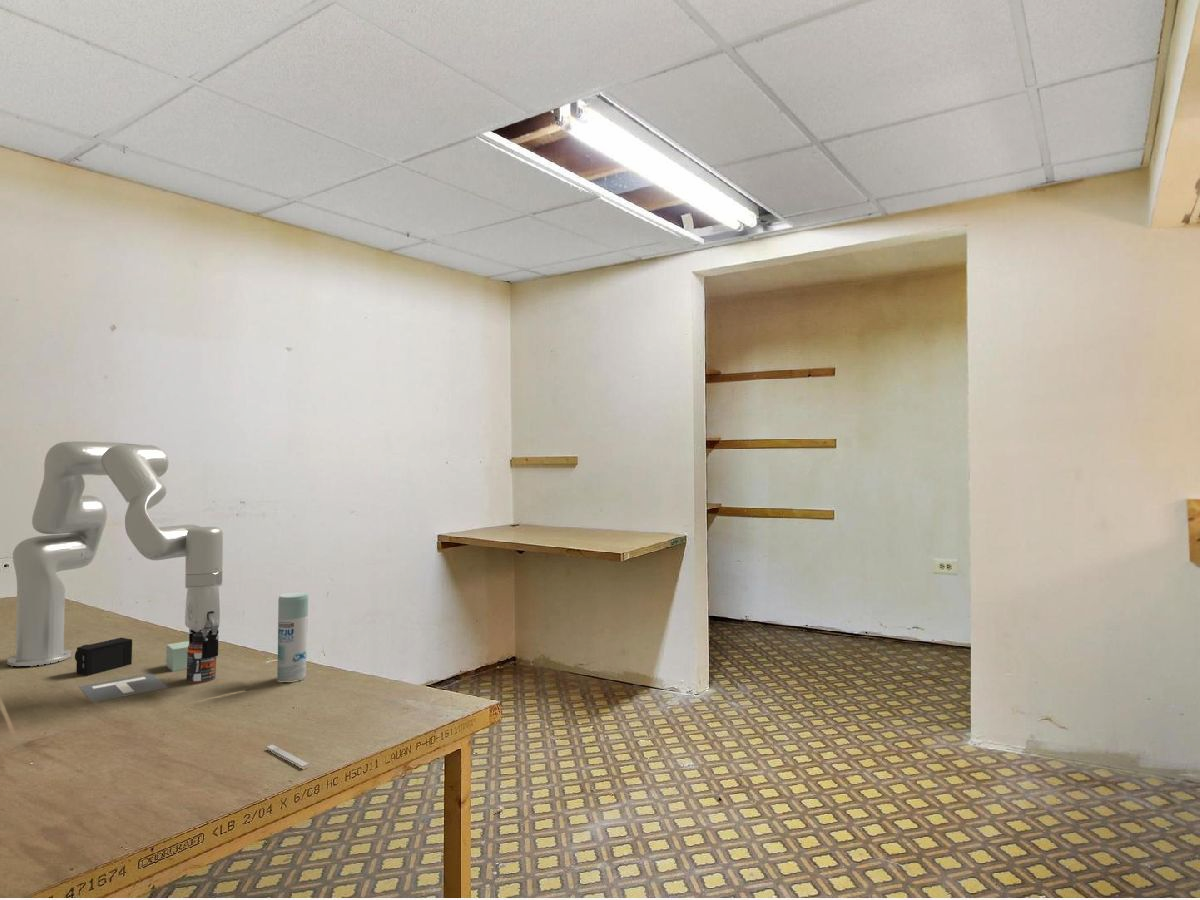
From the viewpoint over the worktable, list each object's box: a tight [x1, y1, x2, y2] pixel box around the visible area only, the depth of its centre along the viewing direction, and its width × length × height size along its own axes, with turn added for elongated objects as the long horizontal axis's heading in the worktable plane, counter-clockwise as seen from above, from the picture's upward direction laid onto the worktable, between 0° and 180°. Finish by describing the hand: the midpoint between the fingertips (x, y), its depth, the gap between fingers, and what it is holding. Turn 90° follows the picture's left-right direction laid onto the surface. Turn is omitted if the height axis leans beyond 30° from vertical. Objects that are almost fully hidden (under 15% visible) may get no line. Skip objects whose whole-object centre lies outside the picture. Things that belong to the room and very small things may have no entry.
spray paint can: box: [276, 591, 309, 681], centre depth 162 cm, size 6×6×20 cm
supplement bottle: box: [186, 631, 217, 684], centre depth 159 cm, size 6×6×11 cm
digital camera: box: [74, 637, 133, 677], centre depth 166 cm, size 10×5×7 cm, turn 157°
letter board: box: [78, 672, 169, 703], centre depth 153 cm, size 14×14×1 cm
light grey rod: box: [265, 744, 310, 767], centre depth 120 cm, size 12×1×1 cm, turn 52°
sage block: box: [165, 640, 189, 672], centre depth 169 cm, size 6×6×6 cm
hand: (203, 653), depth 159 cm, fingers open, 9 cm apart
